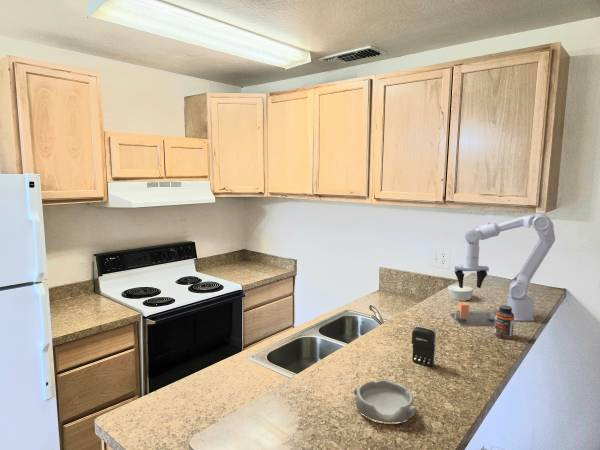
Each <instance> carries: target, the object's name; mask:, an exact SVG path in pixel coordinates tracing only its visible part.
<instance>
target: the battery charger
mask: <svg viewBox="0 0 600 450" xmlns="http://www.w3.org/2000/svg"><path fill="white" fill-rule="evenodd" d="M411 332H412V333H411V344H412V359H411V360H412V362H413V363H416V364H419V365H422V366H427V367H432V366H434V365H435V358H436V357H435V355H436V345H437V344H436V343H437V341H436V340H437V334H436V331H435V329H433V328H430V327H427V326H426V327H425V326H421V325H418V326H415V327H414V329H412V331H411Z"/></svg>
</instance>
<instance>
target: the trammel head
mask: <svg viewBox="0 0 600 450" xmlns="http://www.w3.org/2000/svg"><path fill="white" fill-rule="evenodd" d="M456 311H460V318H463V320H465V318H468V313H469V311H470V305H469V303H467V301H457V310H456Z"/></svg>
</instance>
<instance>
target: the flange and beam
mask: <svg viewBox="0 0 600 450" xmlns="http://www.w3.org/2000/svg"><path fill="white" fill-rule="evenodd" d="M449 316H450V317H451V318H452V319H453V320H454V321H456V323H457V324H458V325H459V326H462V327H495V320H496V313H494V311H492V310H469V313H468V318H465V320H463V318H460V311H457V310H455V311H454V312H453V313H451V312H450V313H449Z"/></svg>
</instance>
